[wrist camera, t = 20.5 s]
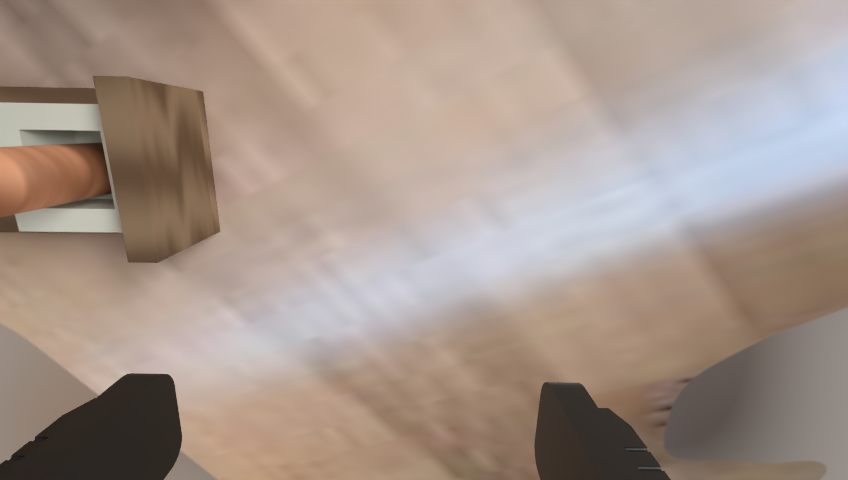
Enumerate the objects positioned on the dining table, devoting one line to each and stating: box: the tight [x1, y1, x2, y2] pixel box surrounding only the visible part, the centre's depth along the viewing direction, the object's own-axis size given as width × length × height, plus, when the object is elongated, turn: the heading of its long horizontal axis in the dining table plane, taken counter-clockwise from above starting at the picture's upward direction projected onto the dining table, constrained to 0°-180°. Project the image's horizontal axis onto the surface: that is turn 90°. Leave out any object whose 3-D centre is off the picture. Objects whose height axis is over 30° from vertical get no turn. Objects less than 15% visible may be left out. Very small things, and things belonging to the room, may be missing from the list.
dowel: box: [0, 142, 112, 217], centre depth 27 cm, size 4×4×10 cm
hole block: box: [0, 102, 123, 233], centre depth 31 cm, size 9×9×6 cm
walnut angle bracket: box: [0, 76, 220, 263], centre depth 30 cm, size 12×25×9 cm, turn 89°
